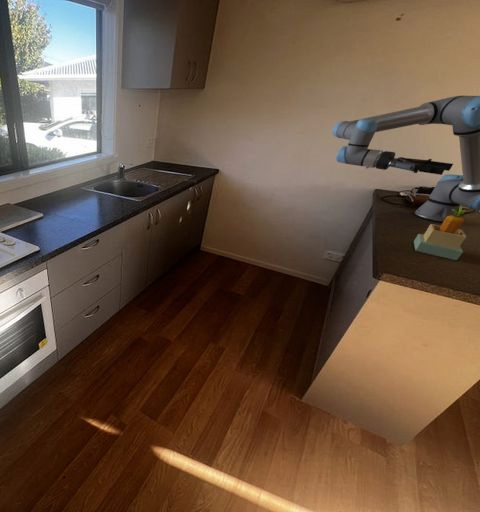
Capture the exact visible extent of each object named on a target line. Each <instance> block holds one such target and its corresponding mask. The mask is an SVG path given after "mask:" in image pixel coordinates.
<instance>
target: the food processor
mask: <svg viewBox="0 0 480 512" xmlns="http://www.w3.org/2000/svg"><path fill="white" fill-rule="evenodd" d="M440 227H441V225H438V224H434V223H430V224H429V225H428V227H427V229H426V231H425V232H424V233H417V236H416V237H415V239H414V240H413V245H414V250H415V252H420V253H423V254H428V255H431V256H436V257H440V258H445V259H448V260H453V261H459V258H460V257H461V256H462V254H463V253H464V251H463V249H462V247H461V245H462V244H463V243H464V241H465V240H466V239H467V236H466V234H465V232H464V230H463V229H460V228H458V230H457V231H456V232H455V233H454V234H451V233H446V232H441V231H439V230H440Z"/></svg>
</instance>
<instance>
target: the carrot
mask: <svg viewBox="0 0 480 512" xmlns="http://www.w3.org/2000/svg"><path fill="white" fill-rule="evenodd" d="M452 211H453V212H454V213H455V216H447V217H446V218H445V220H444V222H443V223H442V222H441V224H440V226H441V227H440V230H439V231H441V232H446V233H451V234H454V233H455V232H456V231H457V230H458V229H460V227H461V226H462V225H463V223H464V221H465V220H464V218H463V217H461V216H462V215H464V214H465V213H466V212H467V210H466V209H463V207H462V206H459V207H458V210H457V211H456V210H454V209H453V210H452Z"/></svg>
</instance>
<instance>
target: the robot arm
mask: <svg viewBox="0 0 480 512" xmlns="http://www.w3.org/2000/svg"><path fill="white" fill-rule="evenodd" d="M414 125H419V126H427V125H446V126H452V133H453V135H454V136H456V137H458V140H459V150H460V159H461V160H460V162H461V171H462V172H461V173H462V174H443V173H444V172H445V171H447V172H450V171H451V169H452V167H453V165H454V163H449V162H442V161H434V160H433V159H432V158H428V159H419V158H411V157H410V158H409V157H404V156H399V157H397V158H395V157H396V152H395V151H388V150H385V151H383V150H381V149H373V148H372V149H370V148H369V146H370V143H371V142H372V139H373V138H374V136H375V134H376V133H379V132H383V131H389V130H393V129H399V128H404V127H409V126H414ZM332 135H333V136H334V137H336V138H337V139H344V140H347V141H348V140H349V141H348V144H347V145H343V146H342V147H340V148H339V150H338V152H337V154H336V158H335V160H336V162H337V163H340V164H344V165H350V166H351V165H352V166H357V167H358V166H359V167H365V169H370V168H371V169H372V168H373V169H376V170H383V171H386V170H388V169H389V168H395V169H400V170H405V171H409V172H412V173H413V174H418V172H419V173H425V174H433V175H439V176H441V177H440V179H439V180H438V181H437V183H436V184H435V186H434V187H433V189H432V192H431V193H430V195H429V197H428V198H427V200H426V201H425V202H424V203H423V204H422V205H420V207H418V208H417V209H416V210H414V213H413V214H414V216H416V217H418V218H420V219H423V220H427V221H431V222H437V223H441V224H442V223H443V222H444V220H445V218H446V217H447V216H455V213H454V212H453V211H452V210H453V209H454V210H456V211H457V212H458V211H459V207H460V206H461V207H462V206H463V207H465V208H468V209H470V210H474V211H478V212H480V95H455V96H449V97H445V98H440V99H436V100H432V101H429V102H428V101H427V102H424V103H422V104H420V105H419V106H416V107H411V108H406V109H402V110H397V111H392V112H388V113H382V114H379V115H374V116H369V117H363V118H359V119H355V120H349V121H348V120H342V121H339V122H337V123H336V124H335V125H334V126H333V128H332Z"/></svg>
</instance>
